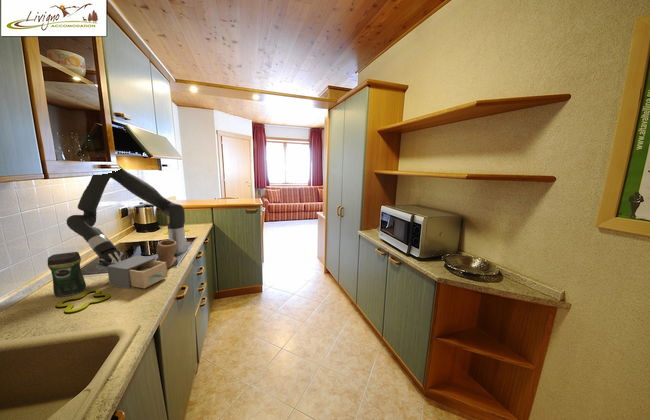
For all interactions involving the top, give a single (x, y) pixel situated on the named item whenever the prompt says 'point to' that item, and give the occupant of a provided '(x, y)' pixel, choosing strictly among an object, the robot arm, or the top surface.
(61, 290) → the coffee jar
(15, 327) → the top surface
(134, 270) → the tray
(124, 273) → the sleeve
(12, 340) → the top surface
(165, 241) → the stone cup
